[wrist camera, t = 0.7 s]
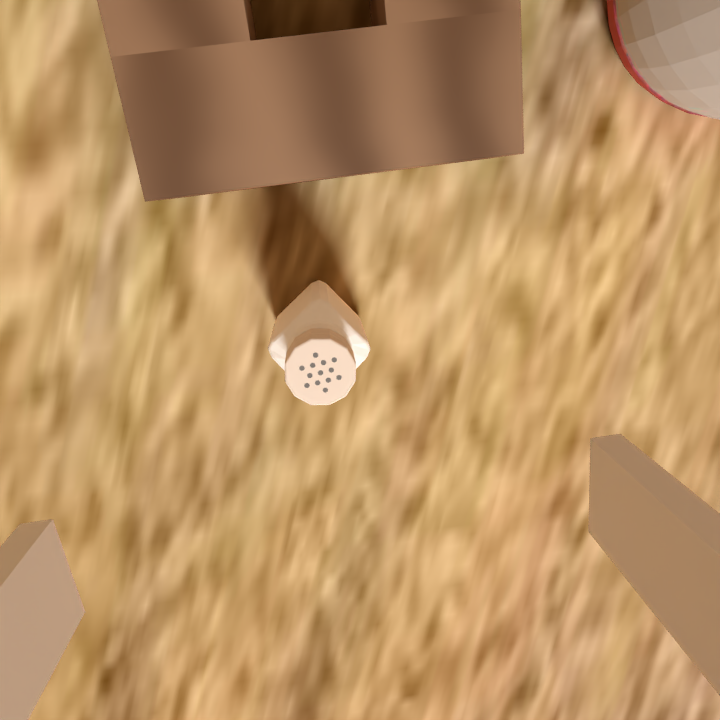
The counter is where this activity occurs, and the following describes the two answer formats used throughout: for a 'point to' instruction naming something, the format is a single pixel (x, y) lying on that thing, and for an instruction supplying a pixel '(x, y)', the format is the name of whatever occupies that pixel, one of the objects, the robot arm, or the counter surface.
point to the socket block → (312, 92)
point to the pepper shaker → (319, 345)
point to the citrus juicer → (671, 50)
